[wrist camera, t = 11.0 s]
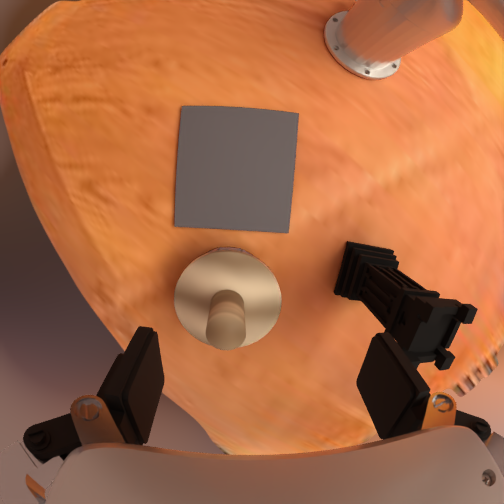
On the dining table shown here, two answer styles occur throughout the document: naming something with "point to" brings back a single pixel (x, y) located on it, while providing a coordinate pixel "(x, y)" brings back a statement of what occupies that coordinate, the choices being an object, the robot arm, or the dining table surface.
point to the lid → (227, 299)
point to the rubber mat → (235, 168)
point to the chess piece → (402, 304)
